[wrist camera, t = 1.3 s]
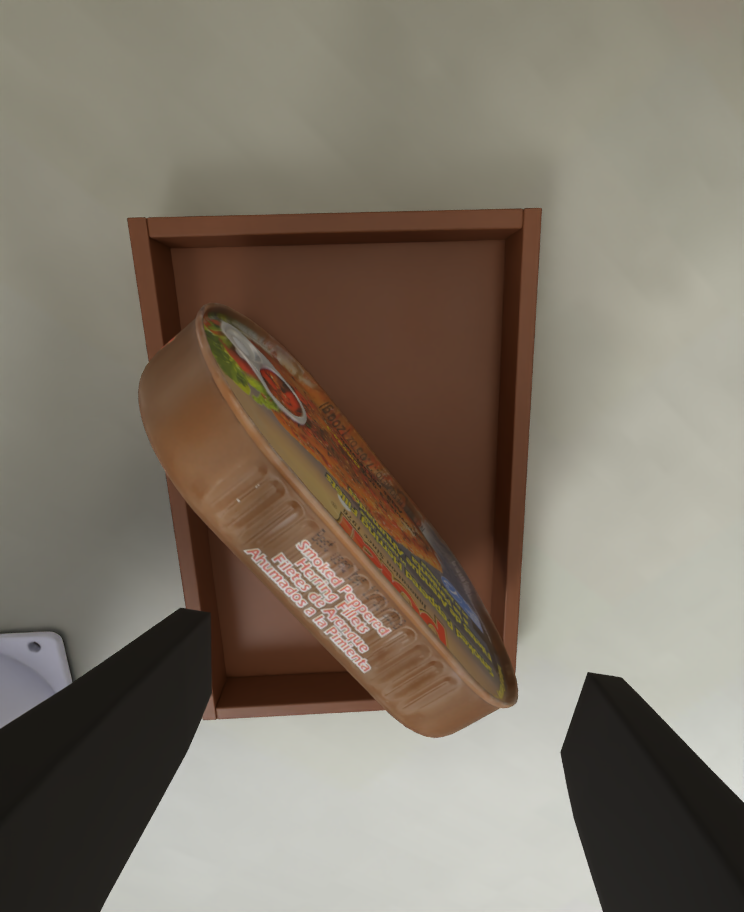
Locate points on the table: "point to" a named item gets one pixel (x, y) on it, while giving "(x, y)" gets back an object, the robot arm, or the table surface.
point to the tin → (322, 522)
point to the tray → (363, 401)
